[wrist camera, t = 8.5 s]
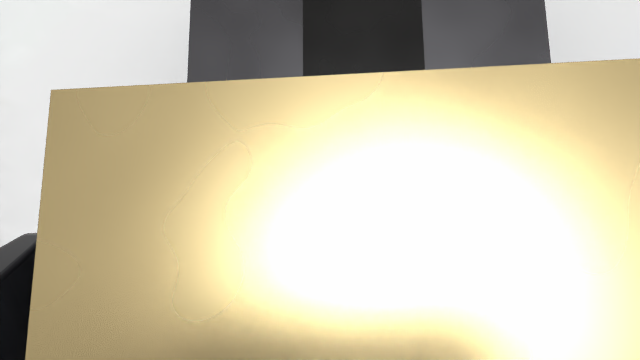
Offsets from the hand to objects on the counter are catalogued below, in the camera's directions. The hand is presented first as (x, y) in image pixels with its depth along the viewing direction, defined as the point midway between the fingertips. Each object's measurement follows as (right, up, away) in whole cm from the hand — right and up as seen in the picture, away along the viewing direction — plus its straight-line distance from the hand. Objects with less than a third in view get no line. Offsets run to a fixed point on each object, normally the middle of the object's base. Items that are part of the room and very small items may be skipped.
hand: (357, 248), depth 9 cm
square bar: (+1, -3, +8) cm, 8 cm away
